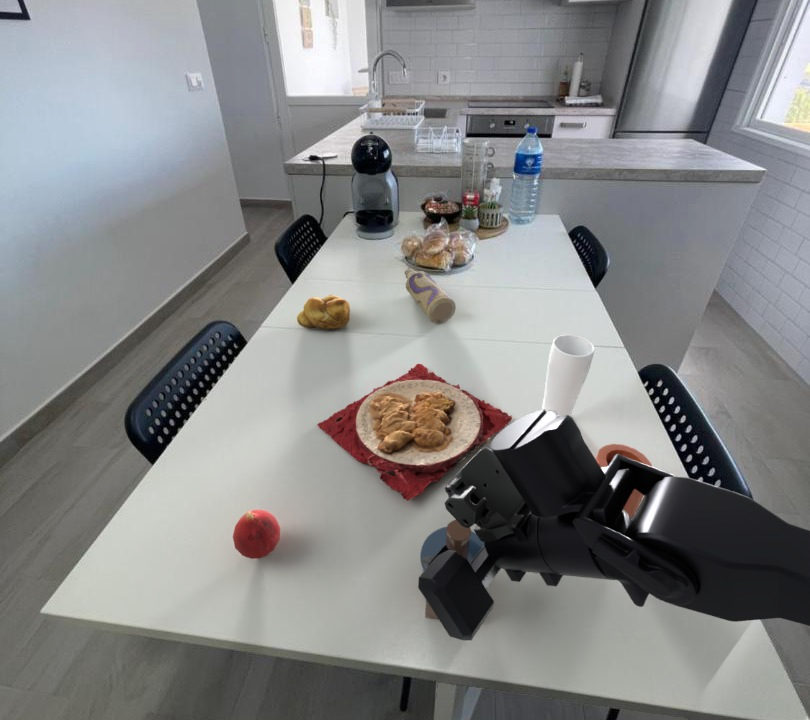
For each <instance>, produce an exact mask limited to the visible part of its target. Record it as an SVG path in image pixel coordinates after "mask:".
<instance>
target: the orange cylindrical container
mask: <svg viewBox="0 0 810 720" xmlns="http://www.w3.org/2000/svg"><path fill="white" fill-rule="evenodd" d="M616 454H619V455H622V456H625V457H628V458H630V459H633V460H636V461H638V462H641V463H644V464H646V465H649V466H652V467H653V465H652V462H651V461H650V460H649V458H647V456H646V455H645V454H644V453H642V452H640V451H639V450H637V449H636V448H633V447H631V446H628V445H626V444H619V443H610V444H605V445H604V446H602V447H601V448H600V449H598V452H597V454H596V457H595V459H596V461H597V462H598V464H599V466H600V467H605V466H608V465H609V463H610V462H611V460H612V459H613V457H614V456H615V455H616ZM643 498H644V495H643V494H641V493H640V492H638V491H637V490H636V489H634V490H633V492H632V494H631V496H630V498H629V499H628V501H627V503H626V505H625V507H624V508H623V510H624V511H625V512H626V513H627V514H628V516H629V517H630V518H631V517H634V515H635V513H636V511H637V509H638V508H639V506H640V504H641V502H642V500H643Z"/></svg>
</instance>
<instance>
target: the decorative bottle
mask: <svg viewBox="0 0 810 720" xmlns="http://www.w3.org/2000/svg"><path fill="white" fill-rule="evenodd" d="M404 275H405V278H406V281H405V289H406V291H407V292H408V294H409V295H410V296H411V297H412V298H413V299H414V301H415V302H416V303H417V304H418V306H419V307H420V309H421V310H422V311H423V312H424V314H425V315H426V316H427V318H428V320H429V321H430V322H431V323H434V324H442V323H446V322H448V321H449V320H450V319H451V318H452V317H453V316H454V315H455V312H456V309H457V306H456V303H455V301H454V299H453V298H452V297H450V296H449V295H448V294H447V292H445V290H444V289H443V288H441V286H440V285H439V284H438V283H437V282H436V281H435V280H434V279H433V277H432V276H431V275H430V274H429V273H427V272H426V271H420V270H419V271H415V269H413V268H411V267H409V268H406V270H405V271H404Z"/></svg>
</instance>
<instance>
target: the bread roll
mask: <svg viewBox="0 0 810 720" xmlns="http://www.w3.org/2000/svg"><path fill="white" fill-rule="evenodd" d="M350 319H351V306H350V303H349V301H348V300H347V299H345V298H342V297H340V296H338V295H333V294H328V295H327V296H324V297H323V298H321V297H319V296H313V297H309V298H308V299H307V300H306V301H305V302H304V305H303V310H301V311H300V312H299V313H298V314H297V316H296V321H297V323H298V325H299V326H300V327H303V328H305V329H318V330H324V331H334V330H339V329H342V328H344V327H345V326H346V325H347V324H348V323H349V321H350Z"/></svg>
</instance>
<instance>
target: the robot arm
mask: <svg viewBox="0 0 810 720" xmlns="http://www.w3.org/2000/svg"><path fill="white" fill-rule="evenodd" d="M489 447H490V448H487V447H483V448H480V450H479V451H477V453H475V454H474V456H472V457H471V458H470V459H469V460H468V461H467V462H466V463H465V464H464V465H463V466H462V467H461V468H460V469H459V470H458V471H457V472H456V474H455V475H454V476H452V478H450V480H448V482H447V485H446V486H445V487H444V492H445V493H446V494H447V495H448V498H447V499H446V500H445V501H444V507H445V510H446V511H447V512H448V513H449V514H450V515H451V516H452V517H453V518H454V520H457V521H458V522H459V523H460V524H461V525H462V526H463V527H465V528H471V527H473V526H474V525H476V526H475V528H474V529H473V532H474V533H476V534H477V536H478V538H479V539H480V541H482V542H484V546H483V547H482V548H481V550H480V551H479V552H478V554H477V555H476V556H475V557H474V559H473V560H472V561H471V562H470V563H469V562H468V560H467V559H466V558H464V557H463V556H462V555H460V554H459V553H457V552H456V551H453V550H449V549H448V547H447V546H446V545H444V546H443V547H442V549H441V550H440V551H439V552H438V553H437V554H436V556H428V557H424V558H422V560H421V562H422V563H423V565H424V566H425V568H426V570H425V571H424V572H423V571H422V573H421V574H420V575H419V577H418V586H417V588H418V589H419V591H420V593H421V594H422V596H423V598H424V599H425V601H426V600H427V602H428V603H429V605H430V606H431V608H432V610H433V611H434V613H435V614H436V616H437V617H438V619H437V620H439V622H440V624H441V626H443V628H444V630H445V631H446V633H447V635H448V636H449V637H450V638H453V639H457V640H461V641H472V640H473V638H474V637H475V635H476V634H477V633H478V631H479V630H480V628H481V627H482V625H483V624H484V622H485V621H486V620H487V618H488V617H489V615H490V614H491V612H492V611H493V609H494V606H495V600H494V599H493V597H492V596H491V594H490V593H489V591H488V590H487V589H488V588H489V586H490V585H491V584H492V582H493V581H494V580H495V578H496V577H497V576H498V574H499V573H500V572H501V570H504V572H505V574H506V575H507V576H508V578H509V579H510V581H511V582H517V583H520V582H521V581H522V580H523V578H524V576H525V575H526V574H527V573H532V574H533V573H534V574H539V575H540V577H541V578H542V580H543V581H544V583H545V584H546V586H549V587H557V586H558V585H559V584H560V581H561V580H562V578H563V576H566V577H575V578H576V577H577V578H586V579H597V580H608V581H618V582H619V583H620V584H621V587H623V588H624V590H625V592H626V594H627V596H628V597H629V598H630V600H631V602H632V603H633V604H634V605H635V606H637V607H639V608H643V607H645V604H646V601H647V599H648V597H649V595H651V596H652V597H654V598H655V599H657V600H659V601H662V602H664V603H667V604H670V605H672V606H675V607H678V608H683V609H685V610H688V611H692V612H696V613H700V614H704V615H707V616H711V617H713V618H716V619H717V618H718V619H721V620H724V621H727V622H748V621H759V620H771V619H782V620H786V621H789V622H794V623H797V624H801V625H805V626H808V627H810V530H809V529H806V528H803V527H801V526H798V525H795V524H791V523H790V522H787V521H785V520H784V519H783V518H781V517H780V516H778V515H777V514H775V513H774V512H773V511H771V510H769V509H768V508H766V507H765V506H764V505H762V504H761V503H759V502H758V501H756V500H755V499H753V498H751V497H749V496H747V495H744V494H742V493H738V492H735V491H731V490H729V489H726V488H723V487H719V486H716V485H713V484H712V483H711V484H710V483H708V482H704V481H701V480H698V479H695V478H691V477H688V476H687V477H686V476H678V475H675V474H673V473H670V472H667V471H665V470H662V469H659V468H657V467H654V466H653V465H652V466H649V465H646V464H644V463H641V462H638V461H636V460H633V459H630V458H628V457H625V456H622V455H619V454H616V455H615V456H614V457H613V459H612V460H611V462H610V463H609V465H608V466H605V467H600V466H599V464H598V462H597V461H596V457H595V456H594V455H593V453H592V451H591V449H590V448H589V446H588V445H587V443H586V442H585V440H584V438H583V435H582V432H581V429H580V428H579V426H578V424H577V422H576V421H575V420H574V418H573V417H572V416H569V415H566V416H562V417H559V416H558V414H557V413H556V412H555V411H552V410H551V411H546V410H545V409H542V408H541V409H538V410H535V411H532V412H529V413H528V414H525V415H523V416H521V417H519V418H517V419H516V420H514V421H512V422H511V423H509V424H507V425H506V426H505V427H503V428H502V429H501V430H500V431H498V432H497V433H496V434H495V436H494V438H493V439H492V440H491V442H490V444H489ZM634 489H636V490H637V491H638V492H640V493H641V494H643V498H642V500H641V502H640V504H639V506H638V508H637V510H636V511H635V513H634V514H633V516H632V519H631V517H629V516H628V514H627V513H626V512H625V511H624V510H623V508H624V507H625V505H626V503H627V501H628V499H629V498H630V496H631V494H632V492H633V490H634ZM421 562H420V563H421Z"/></svg>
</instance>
